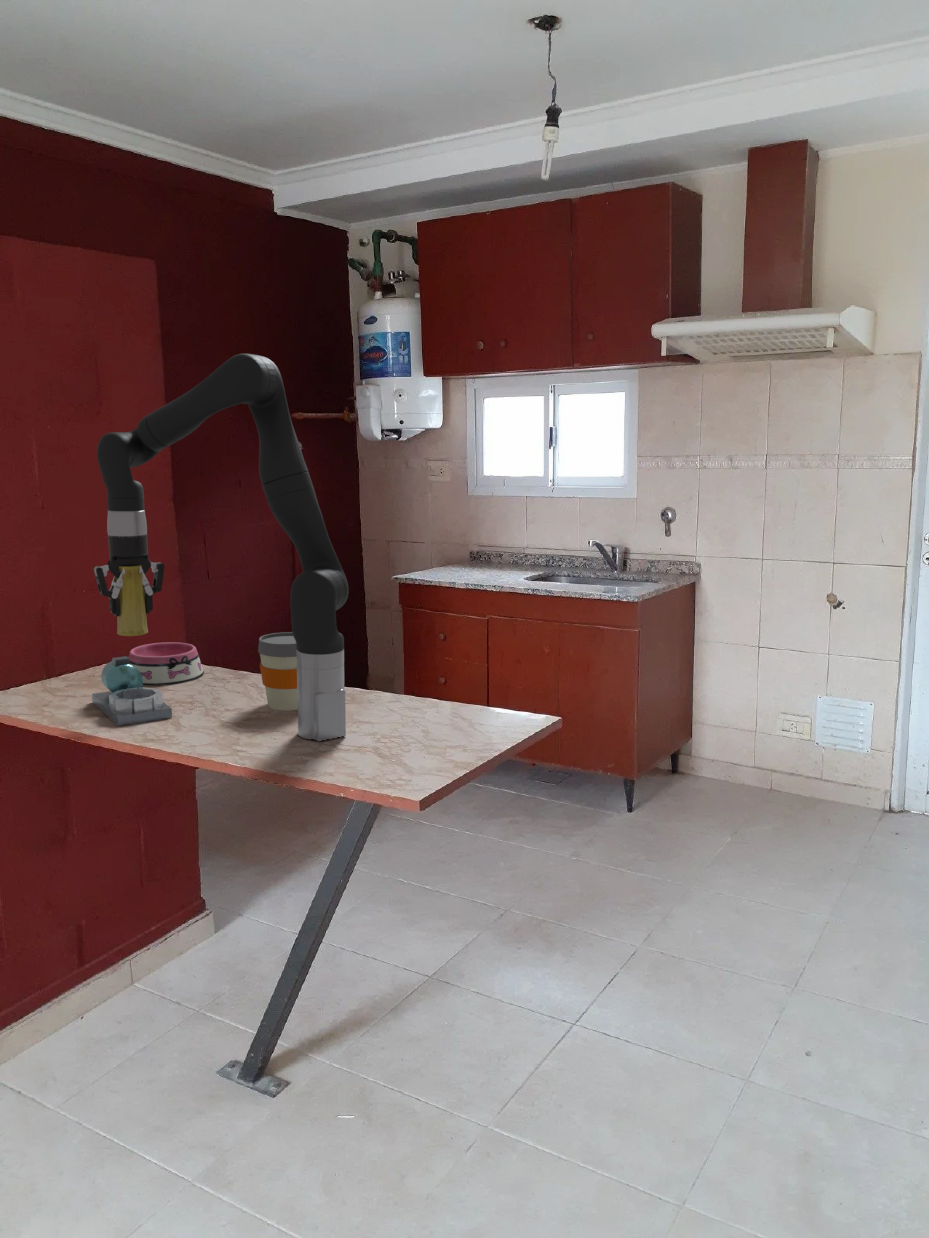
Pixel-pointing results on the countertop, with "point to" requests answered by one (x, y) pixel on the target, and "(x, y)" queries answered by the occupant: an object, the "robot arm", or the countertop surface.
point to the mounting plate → (129, 695)
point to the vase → (132, 603)
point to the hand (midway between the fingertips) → (132, 614)
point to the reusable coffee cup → (279, 670)
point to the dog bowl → (166, 663)
